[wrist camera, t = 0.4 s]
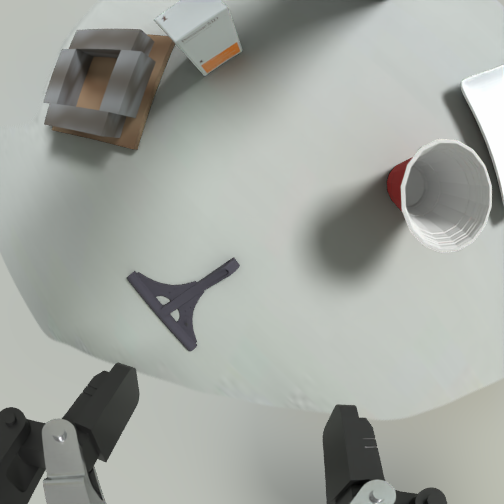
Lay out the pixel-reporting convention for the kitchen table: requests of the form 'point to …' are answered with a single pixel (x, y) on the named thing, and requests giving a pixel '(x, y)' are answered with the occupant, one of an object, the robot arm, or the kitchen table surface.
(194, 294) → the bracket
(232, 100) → the kitchen table surface
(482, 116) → the salad plate
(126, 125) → the holder
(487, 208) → the plastic cup
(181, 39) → the skincare box
